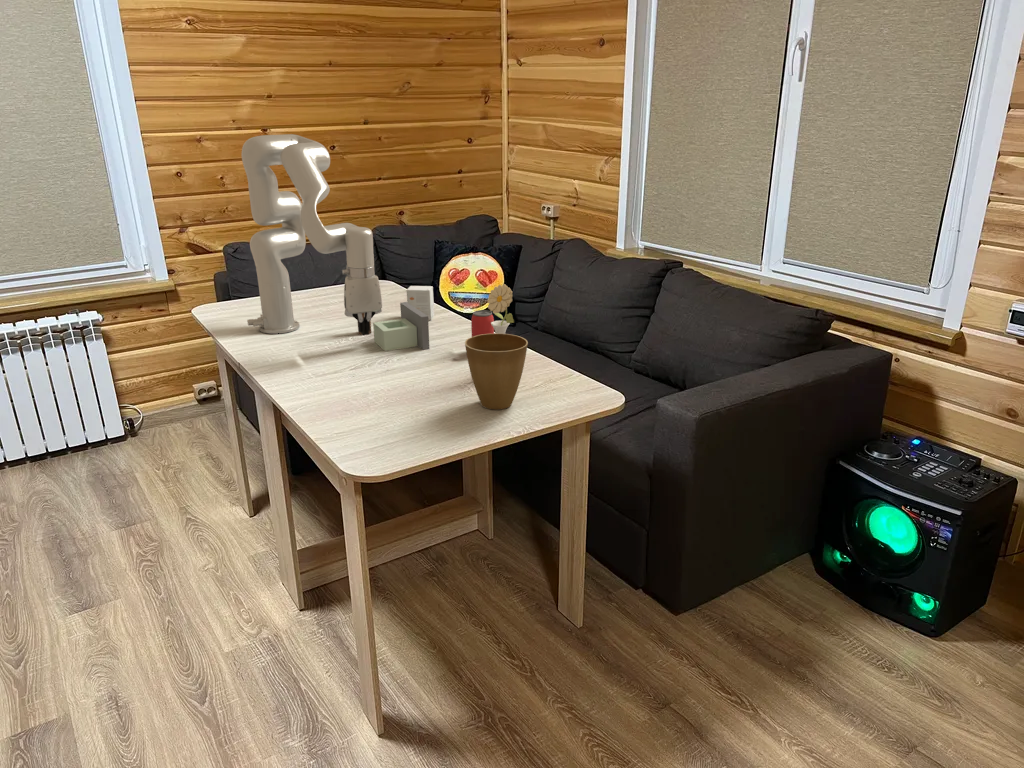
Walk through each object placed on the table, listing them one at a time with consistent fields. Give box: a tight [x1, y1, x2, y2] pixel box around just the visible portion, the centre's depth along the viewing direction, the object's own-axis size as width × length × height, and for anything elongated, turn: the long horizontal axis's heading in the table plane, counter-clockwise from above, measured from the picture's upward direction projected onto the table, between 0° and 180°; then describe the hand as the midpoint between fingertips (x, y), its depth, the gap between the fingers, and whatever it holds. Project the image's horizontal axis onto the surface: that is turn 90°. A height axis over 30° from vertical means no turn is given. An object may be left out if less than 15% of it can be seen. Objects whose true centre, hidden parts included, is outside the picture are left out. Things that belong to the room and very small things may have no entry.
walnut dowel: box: [356, 313, 372, 336], centre depth 232 cm, size 4×4×12 cm
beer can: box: [470, 309, 495, 337], centre depth 217 cm, size 7×7×12 cm
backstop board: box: [399, 301, 430, 351], centre depth 220 cm, size 22×18×11 cm
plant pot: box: [464, 332, 529, 410], centre depth 180 cm, size 15×15×16 cm
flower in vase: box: [487, 283, 515, 334], centre depth 199 cm, size 13×11×25 cm
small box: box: [406, 285, 435, 321], centre depth 251 cm, size 8×6×10 cm
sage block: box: [372, 318, 419, 352], centre depth 222 cm, size 10×10×6 cm
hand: (364, 333), depth 218 cm, fingers closed
